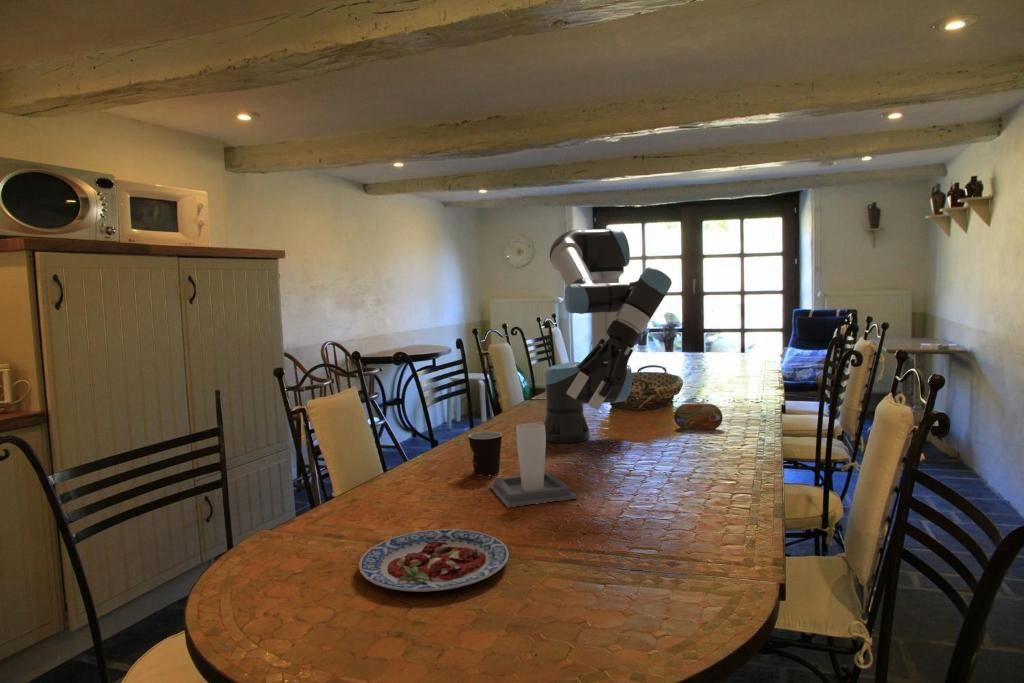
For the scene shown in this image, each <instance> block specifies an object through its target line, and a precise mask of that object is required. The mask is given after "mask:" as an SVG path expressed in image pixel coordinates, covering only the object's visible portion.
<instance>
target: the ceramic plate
mask: <svg viewBox="0 0 1024 683" xmlns="http://www.w3.org/2000/svg"><path fill="white" fill-rule="evenodd" d="M509 554H510V553H509V549H508V547H507V546H506V544H505V543H503V541H501V540H500V539H498V538H496V537H494V536H491V535H489V534H486V533H484V532H483V533H482V532H480V531H474V530H467V529H456V528H455V529H450V528H449V529H446V528H440V529H439V528H438V529H427V530H419V531H415V532H410V533H405V534H401V535H398V536H394V537H391V538H389V539H386V540H384V541H382V542H379V543H378V544H376V545H375V546H372V547H371V548H370V549H368V550H367V551H366V552H365V553H364V554H363V555H362V557H361V558H360V560H359V562H358V563H359V564H358V568H359V572H360V574H361V575H362V577H363V578H365V579H366V580H367V581H369V582H371V583H372V584H374V585H376V586H379V587H383V588H387V589H390V590H396V591H403V592H435V591H447V590H452V589H457V588H461V587H464V586H465V587H466V586H468V585H472V584H475V583H478V582H480V581H482V580H486V579H487V578H489V577H491V576H492V575H494V574H496V573H498V572H499V571H500V570H502V568H503V567H504V566H505V565H506V564H507V562H508V559H509Z"/></svg>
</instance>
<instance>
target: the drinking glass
mask: <svg viewBox="0 0 1024 683" xmlns="http://www.w3.org/2000/svg"><path fill="white" fill-rule="evenodd" d="M543 424H544V423H535V422H534V423H532V422H531V423H530V422H529V423H523V424H522V423H521V424H519V425H516V431H515V432H516V433H515V434H516V435H515V436H516V438H515V439H516V449H517V457H518V458H517V460H518V467H519V475H520V477H521V489H522V490H523V491H531V490H539V489H544V473H545V467H546V451H547V450H546V448H547V441H546V431H545V425H543Z"/></svg>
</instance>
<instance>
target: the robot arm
mask: <svg viewBox="0 0 1024 683" xmlns="http://www.w3.org/2000/svg"><path fill="white" fill-rule="evenodd" d="M630 255H631V253H630V244H629V241H628V238H627V235H626V234H625V232H624V231H623V230H622V229H619V228H609V227H608V228H594V229H591V228H590V229H572V230H569V231H568V230H567V231H566V232H564V233H562V234H561V235H559V237H557V238H556V239H555V240H554V242H553V243H552V245H551V247H550V250H549V260H550V264H552V266H553V268H554V269H555V270H556V271H558V272H559V274H560V275H561V278H562V279H563V282H564V284H565V286H566V287H565V289H564V304H565V310H566V311H567V313H569V314H579V315H585V314H591V325H592V326H591V327H592V331H591V332H592V350H591V351H590V352H589V353H588V354H587V356H585V357H584V359H583V360H581V362H580V361H574V362H573V361H571V362H564V363H559V364H555V365H552V366H549V367H548V368H547V369H546V371H545V381H544V384H545V411H546V412H545V416H544V417H545V418H544V420H543V423H542V424H543V425H545V431H546V442H549V443H550V442H551V443H556V444H557V443H561V444H565V443H566V444H569V443H578V442H584V441H587V440H588V439H590V428H589V425H588V422H587V420H586V417H585V414H584V405H586V404H587V405H588V406H589V407H590V408H593V409H594V410H596V411H599V409H600V408H601V406H602V405H603V403H604V404H605V403H611V404H615V403H619V402H624V401H626V400H627V399H628V398H629V396H630V393H631V390H632V383H633V374H632V368H631V365H629V364H628V363H629V360H630V358H631V355H632V353H633V352H634V350H633V348H634V347H635V345H636V343H637V342H638V340H639V339H640V338H641V337H640V334H642V333H643V332H644V330H646V328H648V324H649V322H650V321H651V319H652V318H653V316H654V314H655V313H656V312H657V309H658V308H659V306H660V304H661V303H662V302H663V300H664V298H665V297H666V296H667V295H668V292H669V290H670V288H671V286H672V283H673V282H672V279H671V278H670V277H669V276H668V275H667V274H666V273H664V272H662V270H660V269H657V268H655V267H650V266H649V267H646V268H645V269H644V271H643V272H642V273H641V274H640V275H639V277H638V279H637V280H635V281H631V282H630V281H629V282H628V281H626V282H620V277H621V276H622V275H623V274H624V272H625V268H626V267H628V266H629V264H630V257H631V256H630ZM624 267H625V268H624Z"/></svg>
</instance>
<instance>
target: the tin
mask: <svg viewBox="0 0 1024 683" xmlns="http://www.w3.org/2000/svg"><path fill="white" fill-rule="evenodd" d="M723 418H724V417H723V413H722V411H721V409H720V408H719V407H718V406H717V405H715V404H712V403H683V404H681V405H679V406H678V407H677V408H676V409H675V411H674V413H673V419H674V422H675V424H676V425H677V427H679V428H681V429H683V430H686V431H687V430H688V431H714V430H716V429H718V428H719V427H720V426H721V424H722V422H723Z"/></svg>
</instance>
